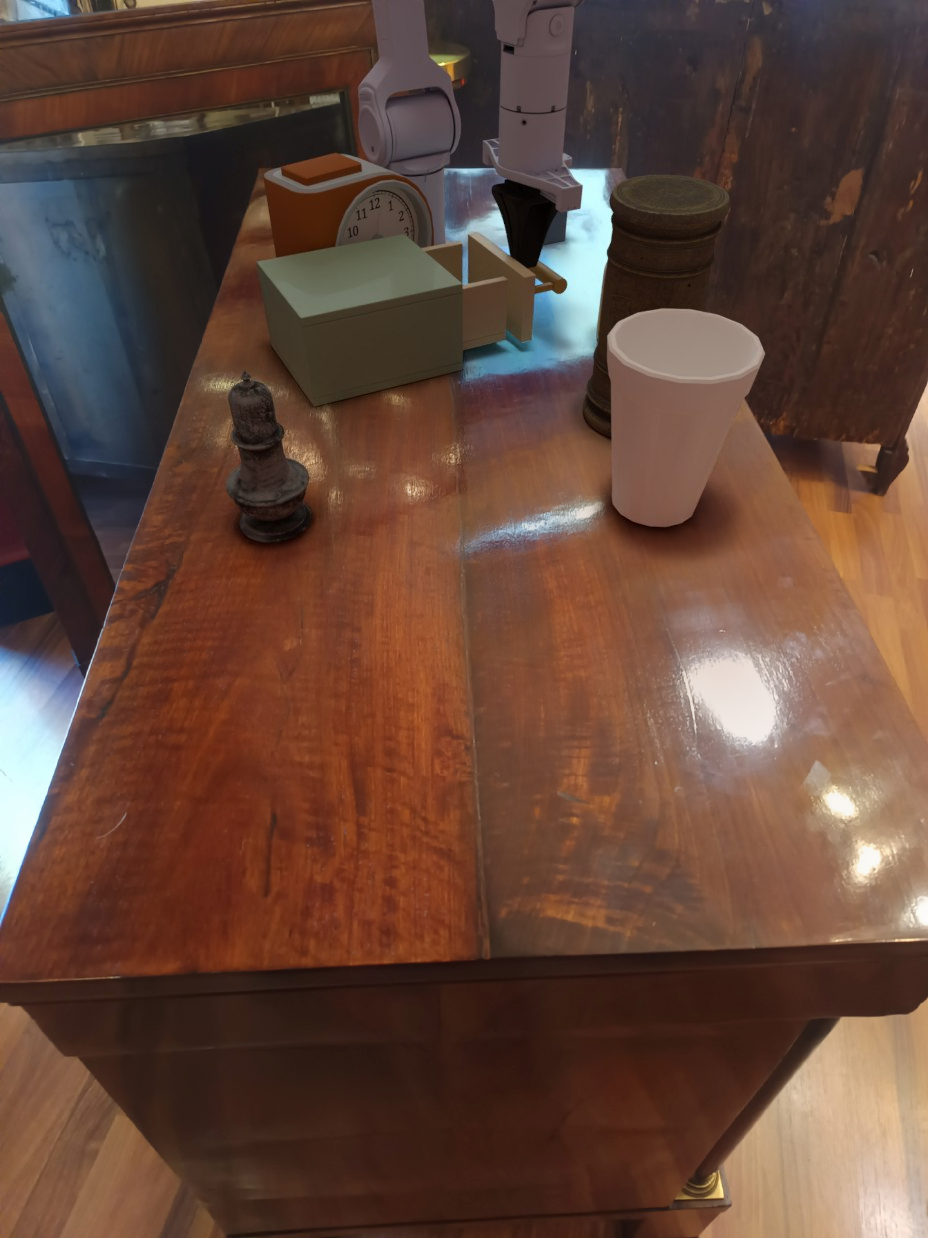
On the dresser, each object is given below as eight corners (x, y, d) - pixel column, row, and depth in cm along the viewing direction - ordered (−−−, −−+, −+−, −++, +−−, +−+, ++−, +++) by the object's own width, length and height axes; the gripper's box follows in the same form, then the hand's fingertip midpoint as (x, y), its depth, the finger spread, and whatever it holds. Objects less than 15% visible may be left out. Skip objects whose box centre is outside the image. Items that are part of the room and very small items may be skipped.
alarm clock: (323, 335, 81) (304, 187, 71) (276, 306, 86) (252, 164, 76) (437, 292, 88) (434, 152, 78) (389, 267, 92) (380, 132, 83)
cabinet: (408, 314, 84) (404, 233, 78) (463, 369, 76) (463, 283, 71) (271, 345, 80) (255, 261, 74) (313, 407, 72) (300, 317, 66)
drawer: (519, 285, 87) (522, 223, 83) (576, 329, 80) (582, 264, 75) (356, 320, 81) (350, 256, 77) (402, 372, 74) (398, 304, 70)
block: (519, 234, 99) (521, 199, 96) (548, 228, 101) (550, 193, 98) (536, 246, 97) (538, 210, 94) (565, 240, 98) (568, 204, 95)
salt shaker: (274, 556, 58) (241, 405, 49) (218, 524, 60) (177, 375, 52) (332, 514, 61) (310, 366, 53) (277, 486, 64) (247, 340, 55)
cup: (740, 541, 59) (792, 374, 50) (605, 554, 58) (632, 387, 49) (693, 461, 66) (731, 302, 57) (572, 472, 65) (590, 312, 56)
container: (686, 450, 67) (739, 219, 54) (577, 438, 68) (602, 209, 55) (688, 394, 73) (735, 174, 60) (587, 384, 74) (612, 167, 62)
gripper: (620, 120, 66) (600, 286, 76) (531, 79, 75) (523, 232, 85) (545, 131, 64) (534, 301, 74) (462, 88, 73) (463, 244, 83)
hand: (524, 265), depth 79 cm, fingers closed
